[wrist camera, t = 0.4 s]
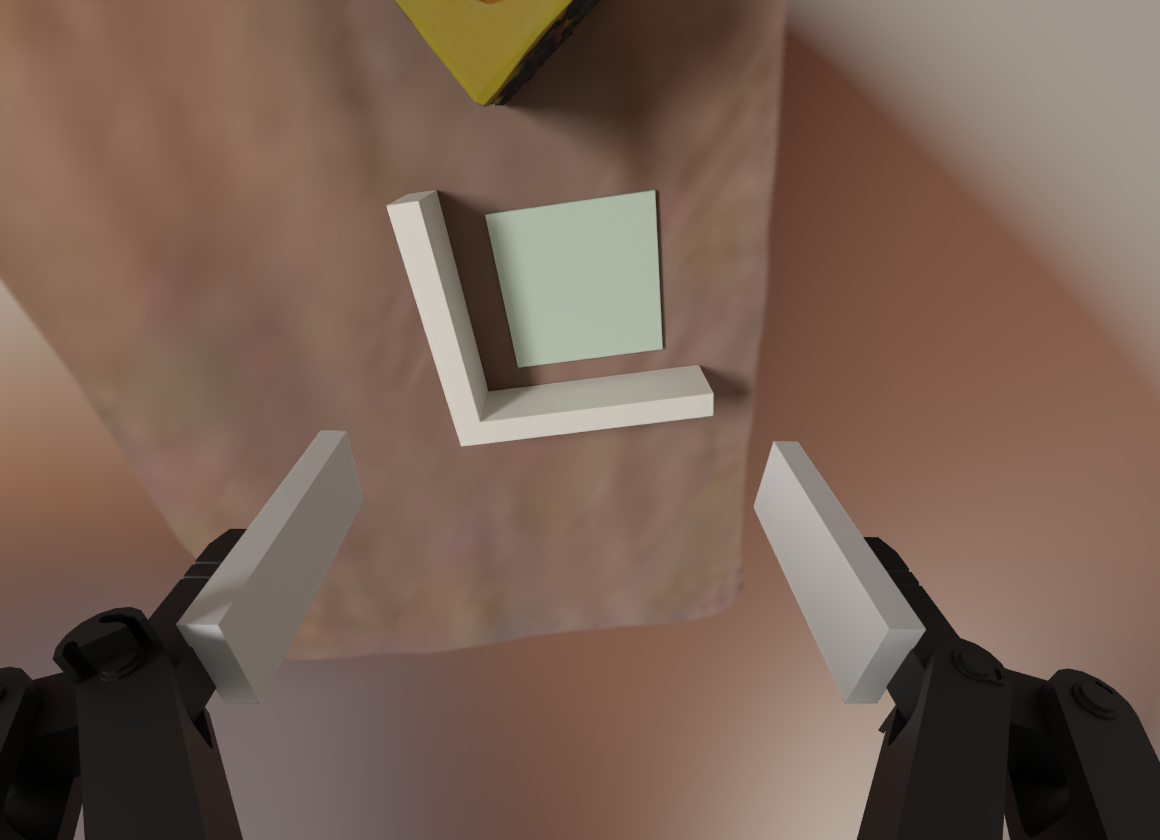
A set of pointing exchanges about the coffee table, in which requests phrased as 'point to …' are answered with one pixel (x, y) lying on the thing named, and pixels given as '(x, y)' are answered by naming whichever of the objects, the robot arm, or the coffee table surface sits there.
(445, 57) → the candle
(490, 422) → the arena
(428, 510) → the coffee table surface
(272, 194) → the coffee table surface
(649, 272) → the pad
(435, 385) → the coffee table surface
